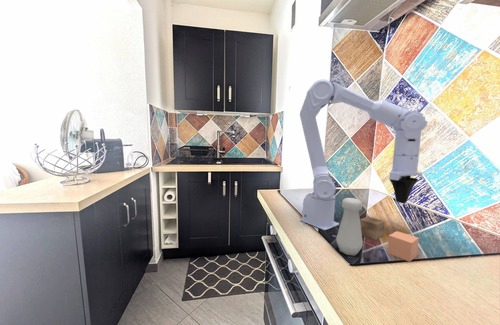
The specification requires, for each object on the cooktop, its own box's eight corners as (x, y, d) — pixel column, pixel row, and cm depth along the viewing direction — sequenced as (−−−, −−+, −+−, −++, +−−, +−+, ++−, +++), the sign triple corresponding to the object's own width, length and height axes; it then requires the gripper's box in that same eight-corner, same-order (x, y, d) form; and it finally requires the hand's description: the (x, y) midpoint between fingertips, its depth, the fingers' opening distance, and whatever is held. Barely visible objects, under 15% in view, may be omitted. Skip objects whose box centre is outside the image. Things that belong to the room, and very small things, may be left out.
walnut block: (359, 234, 60) (360, 219, 60) (366, 230, 63) (368, 216, 62) (375, 240, 56) (377, 224, 56) (383, 236, 59) (384, 221, 58)
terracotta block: (387, 253, 50) (389, 235, 50) (395, 248, 53) (396, 231, 52) (409, 262, 46) (411, 243, 46) (416, 256, 49) (418, 237, 49)
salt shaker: (365, 259, 47) (369, 203, 46) (338, 256, 48) (342, 201, 47) (357, 246, 53) (361, 196, 51) (333, 243, 54) (336, 195, 53)
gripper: (414, 157, 51) (408, 210, 52) (431, 155, 60) (426, 201, 61) (382, 155, 57) (378, 203, 58) (402, 154, 65) (398, 196, 67)
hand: (401, 202), depth 60 cm, fingers closed
